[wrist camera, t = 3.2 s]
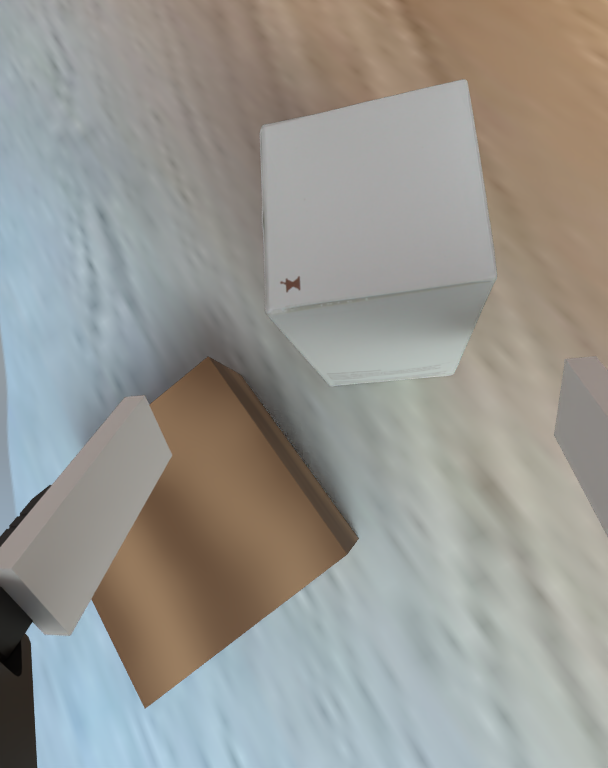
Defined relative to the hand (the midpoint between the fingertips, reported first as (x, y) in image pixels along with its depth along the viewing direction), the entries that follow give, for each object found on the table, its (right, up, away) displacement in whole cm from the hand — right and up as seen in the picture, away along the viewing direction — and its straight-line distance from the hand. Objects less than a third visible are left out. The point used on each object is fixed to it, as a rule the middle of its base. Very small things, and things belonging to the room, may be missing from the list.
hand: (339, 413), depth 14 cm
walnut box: (-6, -7, +12) cm, 15 cm away
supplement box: (+4, +5, +12) cm, 13 cm away
